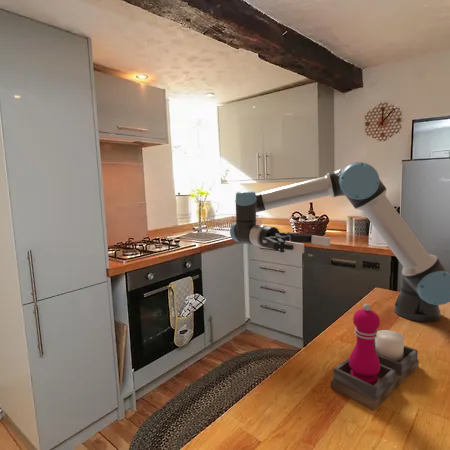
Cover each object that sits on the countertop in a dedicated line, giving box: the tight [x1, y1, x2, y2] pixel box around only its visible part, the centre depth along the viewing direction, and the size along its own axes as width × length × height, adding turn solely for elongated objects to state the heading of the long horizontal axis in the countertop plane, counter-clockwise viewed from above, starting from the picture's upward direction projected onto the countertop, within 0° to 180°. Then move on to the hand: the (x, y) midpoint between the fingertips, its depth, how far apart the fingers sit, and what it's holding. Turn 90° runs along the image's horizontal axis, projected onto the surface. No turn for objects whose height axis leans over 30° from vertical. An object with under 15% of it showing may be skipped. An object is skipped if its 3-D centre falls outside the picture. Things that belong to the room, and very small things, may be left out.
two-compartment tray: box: [330, 340, 420, 411], centre depth 87 cm, size 26×11×5 cm, turn 130°
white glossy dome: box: [375, 329, 405, 363], centre depth 91 cm, size 7×7×7 cm
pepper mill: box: [348, 303, 381, 385], centre depth 81 cm, size 7×7×20 cm
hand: (317, 245), depth 100 cm, fingers open, 13 cm apart
